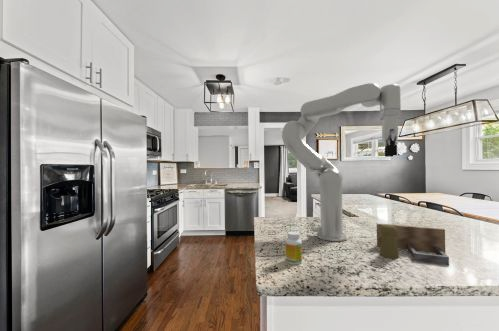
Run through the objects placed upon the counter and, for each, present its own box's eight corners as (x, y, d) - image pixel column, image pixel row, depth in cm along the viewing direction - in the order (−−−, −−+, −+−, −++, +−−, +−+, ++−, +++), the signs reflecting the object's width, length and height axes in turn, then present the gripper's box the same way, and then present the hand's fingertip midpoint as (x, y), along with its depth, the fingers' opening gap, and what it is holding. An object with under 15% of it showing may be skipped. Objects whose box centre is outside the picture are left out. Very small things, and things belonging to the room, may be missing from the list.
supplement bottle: (298, 266, 76) (298, 236, 76) (283, 262, 79) (282, 233, 79) (304, 260, 81) (303, 232, 81) (289, 257, 84) (289, 230, 84)
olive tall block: (401, 259, 81) (401, 227, 82) (382, 258, 83) (382, 226, 83) (394, 253, 87) (394, 223, 88) (377, 252, 89) (376, 223, 89)
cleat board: (379, 256, 85) (379, 230, 85) (376, 245, 97) (376, 223, 97) (457, 266, 76) (457, 237, 76) (444, 253, 88) (443, 228, 88)
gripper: (378, 119, 109) (378, 157, 109) (382, 111, 93) (382, 155, 93) (397, 118, 106) (397, 156, 105) (404, 109, 90) (405, 154, 90)
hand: (390, 155), depth 99 cm, fingers open, 9 cm apart
